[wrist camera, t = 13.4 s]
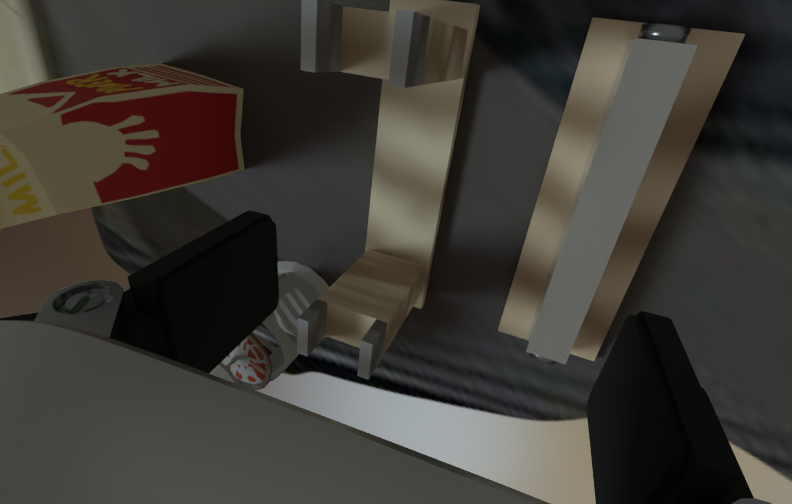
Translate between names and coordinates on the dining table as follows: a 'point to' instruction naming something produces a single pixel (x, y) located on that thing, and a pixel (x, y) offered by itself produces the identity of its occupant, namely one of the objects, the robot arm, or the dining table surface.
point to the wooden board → (571, 158)
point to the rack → (392, 157)
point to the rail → (609, 183)
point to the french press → (274, 331)
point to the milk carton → (113, 138)
